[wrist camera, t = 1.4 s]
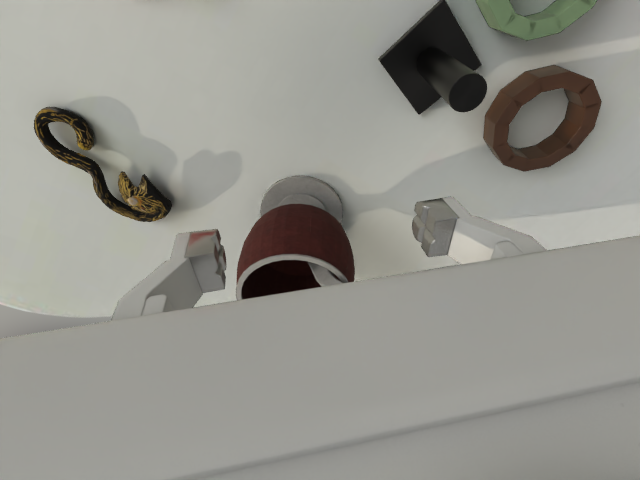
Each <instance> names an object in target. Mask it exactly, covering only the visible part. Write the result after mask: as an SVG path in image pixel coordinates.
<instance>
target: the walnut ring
mask: <svg viewBox="0 0 640 480" xmlns="http://www.w3.org/2000/svg"><path fill="white" fill-rule="evenodd" d="M559 88H564V91H565V93H566V95H567V97H568V99H569V103H568V107H567V111H566V116H565V119H564V120H563V122H562V123H561V124H560V125H559V127H558V128H557V129H556V131H555V132H554V133H553V135H551V136H549V137H548V138H546V139H545V140H543V141H542V142H540V143H539V144H537V145H536V146H531V147H526V148H521V149H516V148H513V147H510V146H509V144H508V143H507V139H508V131H509V124H510V123H511V121H512V120H513V118H514V117H515V115H516V114H517V112H518V111H519V109H520V108H521V106H523V105H524V104H526V103H527V102H528V101H530V100H531V99H533V98H534V97H536V96H537V95H538V94H540V93H541V92H546V91H550V90H555V89H559ZM600 106H601V99H600V97H599V94H598V91H597V89H596V86H595V84H594V81H593V80H592V79H589V78H586V77H584V76H581V75H579V74H576V73H574V72H571V71H569V70H566V69H564V68H561V67H558V66H556V65H551V66H547V67H543V68H538V69H534V70H530V71H526V72H524V73H523V74H521V75H520V76H519V77H517V78H516V79H515V80H513V81H512V82H511V83H509V84H508V85H507V86H505V87H504V88H503V89H501V90H500V92H499V93H498V95H497V97H496V98H495V100H494V101H493V103H492V105H491V106H490V108H489V110H488V111H487V113H486V115H485V124H484V137H483V138H484V140H485V142H486V143H487V145H488V147H489V148H490V150H491V151H492V153H493V154H494V155H495V156H496V157H497V159H498V160H499V161H500V162H501V163H502V164H503V165H505V166H508V167H511V168H515V169H518V170H521V171H529V170H534V169H540V168H545V167H549V166H551V165H553V164H555V163H556V162H558V161H560V160H561V159H563V158H565V157H566V156H568V155H570V154H571V153H573V152H574V151H575V150H576V149H577V148H578V147H579V146H580V144H581V143H582V142H583V141H584V139H585V138H586V137H587V136H588V135H589V133H590V132H591V131H592V130H593V129H594V127H595V123H596V120H597V116H598V113H599V109H600Z"/></svg>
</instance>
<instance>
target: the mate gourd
mask: <svg viewBox="0 0 640 480" xmlns="http://www.w3.org/2000/svg"><path fill="white" fill-rule="evenodd" d="M260 213H261V218H260V219H259V220H258V221H257V222H256V224H255V225H254V226H253V228H252V229H251V231H250V233H249V235H248V236H247V238H246V240H245V242H244V245H243V248H242V251H241V255H240V258H239V262H238V268H237V287H236V298H237V300H243V299H249V298H256V297H262V296H268V295H274V294H280V293H287V292H293V291H299V290H305V289H311V288H318V287H324V286H330V285H336V284H342V283H349V282H354V274H355V268H354V259H353V253H352V249H351V246H350V243H349V240H348V237H347V235H346V233H345V231H344V229H343V227H342V226H341V222H342V218H343V208H342V203H341V200H340V198H339V196H338V194H337V193H336V192H335V191H334V189H333V188H331V187H330V186H329V185H328V184H327V183H325V182H323V181H321V180H319V179H316V178H313V177H308V176H292V177H288V178H285V179H282V180H280V181H278V182H276V183H275V184H274V185H272V186H271V187H270V188H269V189H268V190H267V192H266V194H265V195H264V197H263V200H262V203H261V211H260Z"/></svg>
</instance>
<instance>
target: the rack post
mask: <svg viewBox="0 0 640 480" xmlns="http://www.w3.org/2000/svg"><path fill="white" fill-rule="evenodd" d="M379 61H380V62H381V64H382V65H383V67H384V68H385V69H386V71H387V72H388V73H389V75H390V76H391V77H392V79H393V80H394V82H395V83H396V84H397V86H398V87H399V88H400V90H401V91H402V92H403V94H404V95H405V97H406V98H407V99H408V101H409V102H410V103H411V105H412V106H413V107H414V109H415V110H416V112H417V113H418V114H421V113H422V112H423V111H425V110H426V109H427V108H428V107H430V106H431V105H432V104H433V103H435V102H436V101H437V100H438V99H439V98H441V97H442V98H443V99H444V100H445V101H446V102H447V103H448V104H449V105H450V106H451V107H452V108H453V109H454V110H456V111H458V112H468V111H471V110H473V109H475V108H476V107H477V106H478V105H479V104H480V103H481V102H482V101H483V99H484V97H485V95H486V92H487V84H486V81H485V79H484V78H483V77H482V76H481V75H479V74H478V73H476V72H475V71H474V70H476V69H477V68H478V67H479V66H481V63H480V61H479V59H478V58H477V56H476V54H475V52H474V51H473V49H472V47H471V45H470V44H469V42H468V40H467V38H466V37H465V35H464V33H463V31H462V29H461V28H460V26H459V24H458V22H457V21H456V19H455V17H454V15H453V14H452V12H451V10H450V8H449V7H448V5H447V3H446V1H445V0H440V1H439V2H438V3H437V4H436V5H435V6H434V7H433V8H432V9H431V10H429V11H428V12H427V13H426V14H425V15H424V16H423V17H422V18H421V19H420V20H419V21H418V22H417V23H416V24H415V25H414V26H413V27H411V28H410V29H409V30H408V31H407V32H406V33H405V34H404V35H403V36H402V37H401V38H400V39H399V40H398V41H397V42H396V43H395V44H394V45H392V46H391V47H390V48H389V49H388V50H387V51H386V52H385V53H384V54H383V55H382V56H381V57H380V58H379Z"/></svg>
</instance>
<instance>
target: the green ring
mask: <svg viewBox="0 0 640 480" xmlns="http://www.w3.org/2000/svg"><path fill="white" fill-rule="evenodd" d="M596 2H597V0H556V1H555V2H554V3H552V4H551V5H550V6H549V7H547V8H546V9H545V10H544V11H543V12H540V13H537V14H533V15H529V16H525V17H523V16H521V15H519V14H516V13H515V11H514V9H513V7H512V5H511V3H510V1H509V0H476V3H477V4H478V6H479V8H480V10H481V12H482V14H483V16H484V18H485V20H486V22H487V24H488V26H489V27H491V28H494V29H496V30H499V31H501V32H504V33H506V34H509V35H511V36H514V37H517V38H520V39H523V40H526V41H528V40H532V39H536V38H541V37H545V36H549V35H553V34H557V33H560V32H561V31H563V30H564V29H565V28H567V27H568V26H569V25H571V24H572V23H573V22H574V21H576V20H577V19H578V18H580V17H581V16H582V15H584V14H585V13H586V12H588V11H589V10H590V9H591V8H592V7H593V6H594V5H595V3H596Z"/></svg>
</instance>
